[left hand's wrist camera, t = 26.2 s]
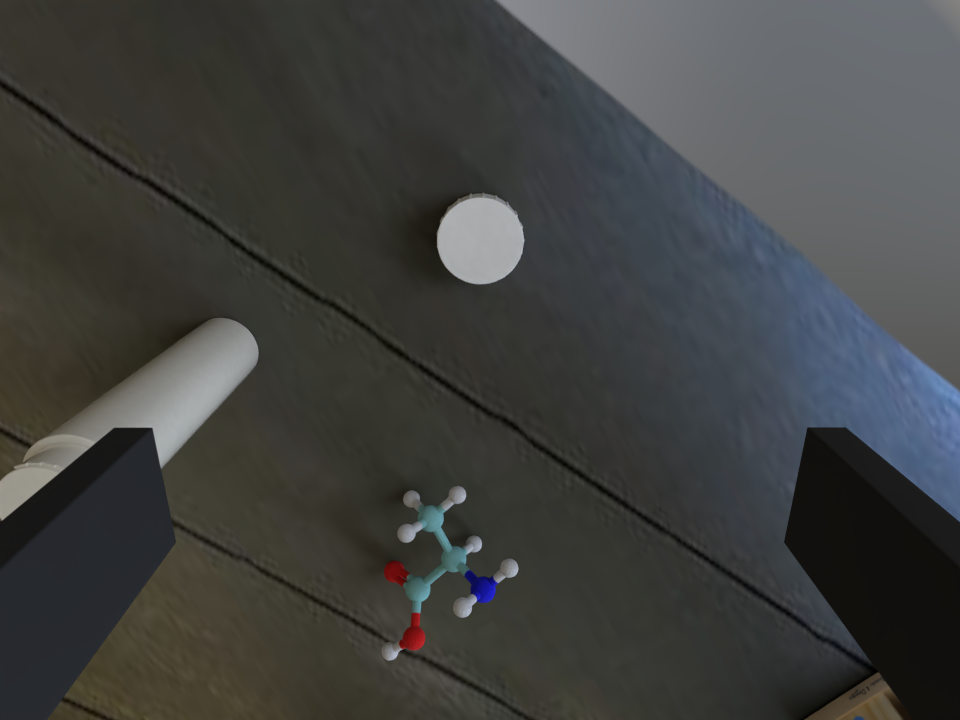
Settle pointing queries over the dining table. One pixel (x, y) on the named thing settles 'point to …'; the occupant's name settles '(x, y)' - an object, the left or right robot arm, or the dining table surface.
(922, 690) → the left robot arm
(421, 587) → the molecular model
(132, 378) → the jar
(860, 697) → the pounding bench toy
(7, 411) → the dining table surface
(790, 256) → the dining table surface
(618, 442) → the dining table surface
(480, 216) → the lid
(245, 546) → the dining table surface
